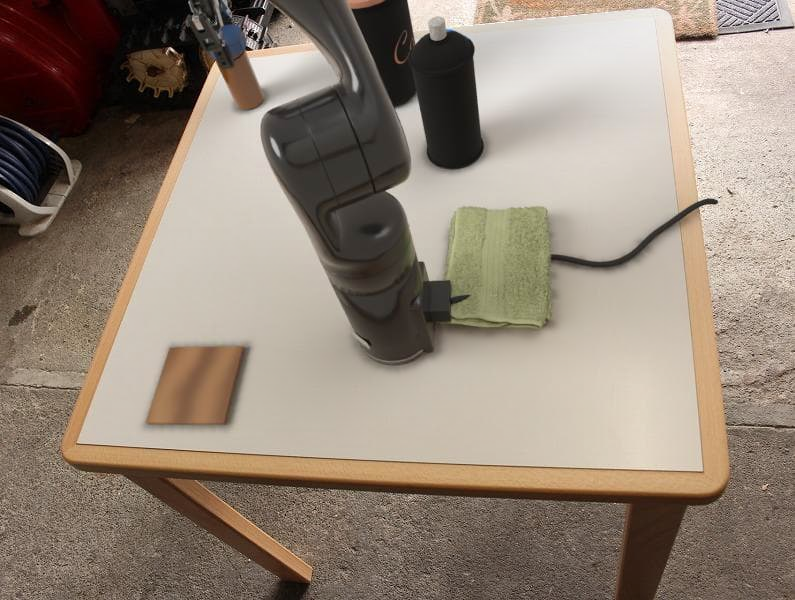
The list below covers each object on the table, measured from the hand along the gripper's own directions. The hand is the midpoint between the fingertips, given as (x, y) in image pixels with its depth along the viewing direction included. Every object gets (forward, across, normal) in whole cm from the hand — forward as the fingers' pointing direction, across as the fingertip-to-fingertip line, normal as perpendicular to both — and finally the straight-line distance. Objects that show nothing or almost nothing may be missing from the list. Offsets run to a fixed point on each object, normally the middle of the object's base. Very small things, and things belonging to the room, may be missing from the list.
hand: (231, 54), depth 96 cm
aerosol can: (+9, -20, -33) cm, 39 cm away
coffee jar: (+9, -4, -24) cm, 26 cm away
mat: (+9, -53, +1) cm, 54 cm away
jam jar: (+9, 0, 0) cm, 9 cm away
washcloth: (+9, -42, -36) cm, 57 cm away
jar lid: (-3, 0, 0) cm, 3 cm away
